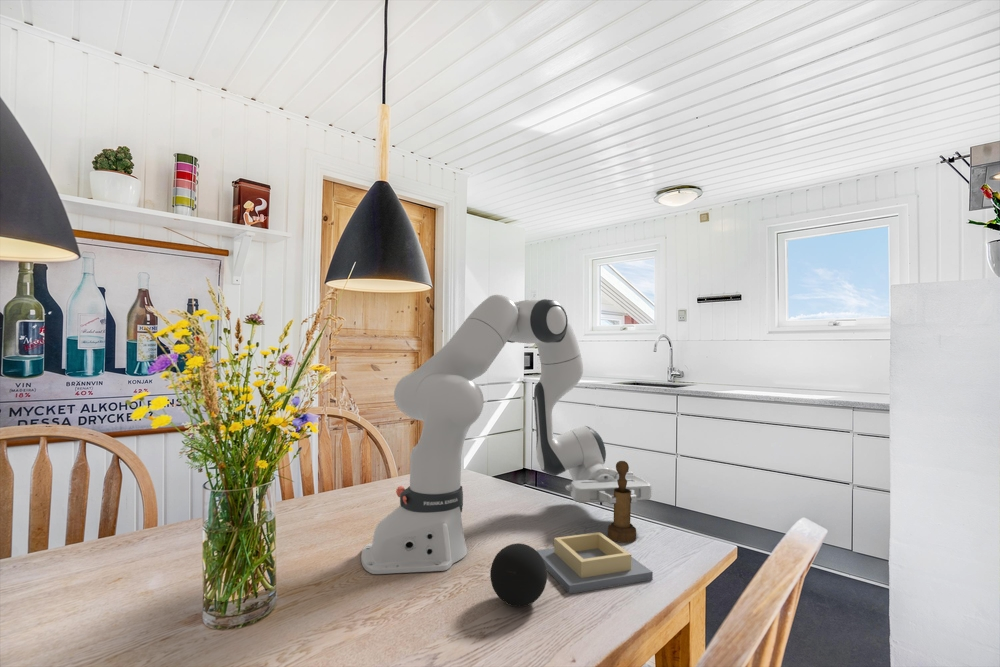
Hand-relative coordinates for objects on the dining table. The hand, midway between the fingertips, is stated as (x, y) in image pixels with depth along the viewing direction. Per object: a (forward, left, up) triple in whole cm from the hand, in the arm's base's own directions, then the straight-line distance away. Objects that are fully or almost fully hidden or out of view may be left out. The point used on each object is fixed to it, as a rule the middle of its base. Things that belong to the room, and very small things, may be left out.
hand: (623, 500), depth 116 cm
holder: (-15, -11, -9) cm, 21 cm away
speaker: (-34, -19, -9) cm, 40 cm away
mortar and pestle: (0, +1, -9) cm, 9 cm away
